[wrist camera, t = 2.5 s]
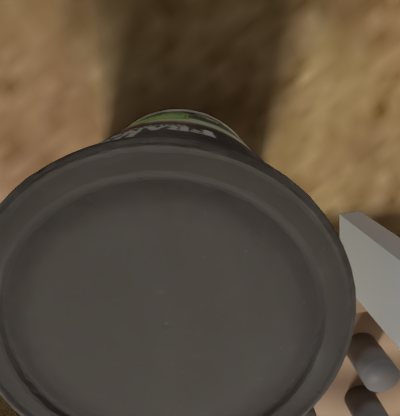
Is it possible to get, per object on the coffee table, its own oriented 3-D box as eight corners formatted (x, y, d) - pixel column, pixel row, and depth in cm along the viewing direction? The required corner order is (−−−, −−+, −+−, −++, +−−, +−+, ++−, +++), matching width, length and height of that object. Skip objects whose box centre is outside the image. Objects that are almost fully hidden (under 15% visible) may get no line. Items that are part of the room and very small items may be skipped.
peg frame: (194, 282, 24) (195, 319, 21) (444, 248, 24) (494, 278, 20) (223, 457, 30) (228, 513, 26) (425, 431, 30) (461, 483, 26)
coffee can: (70, 148, 21) (-132, 240, 8) (223, 81, 20) (290, 57, 7) (141, 280, 24) (84, 508, 11) (277, 228, 23) (395, 409, 10)
